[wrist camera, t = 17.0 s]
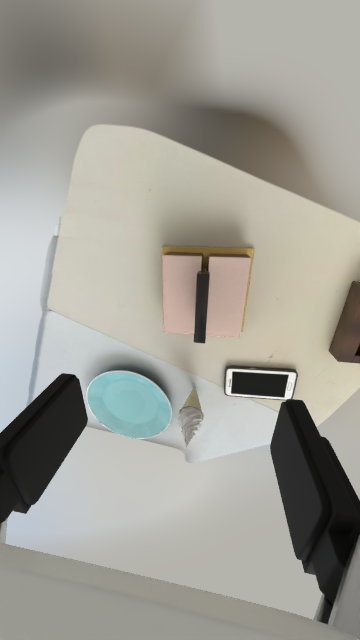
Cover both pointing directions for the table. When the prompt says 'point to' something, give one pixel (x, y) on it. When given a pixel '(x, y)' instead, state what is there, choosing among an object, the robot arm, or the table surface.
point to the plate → (129, 404)
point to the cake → (224, 288)
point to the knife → (201, 305)
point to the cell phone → (260, 383)
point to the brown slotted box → (348, 329)
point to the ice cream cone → (190, 416)
